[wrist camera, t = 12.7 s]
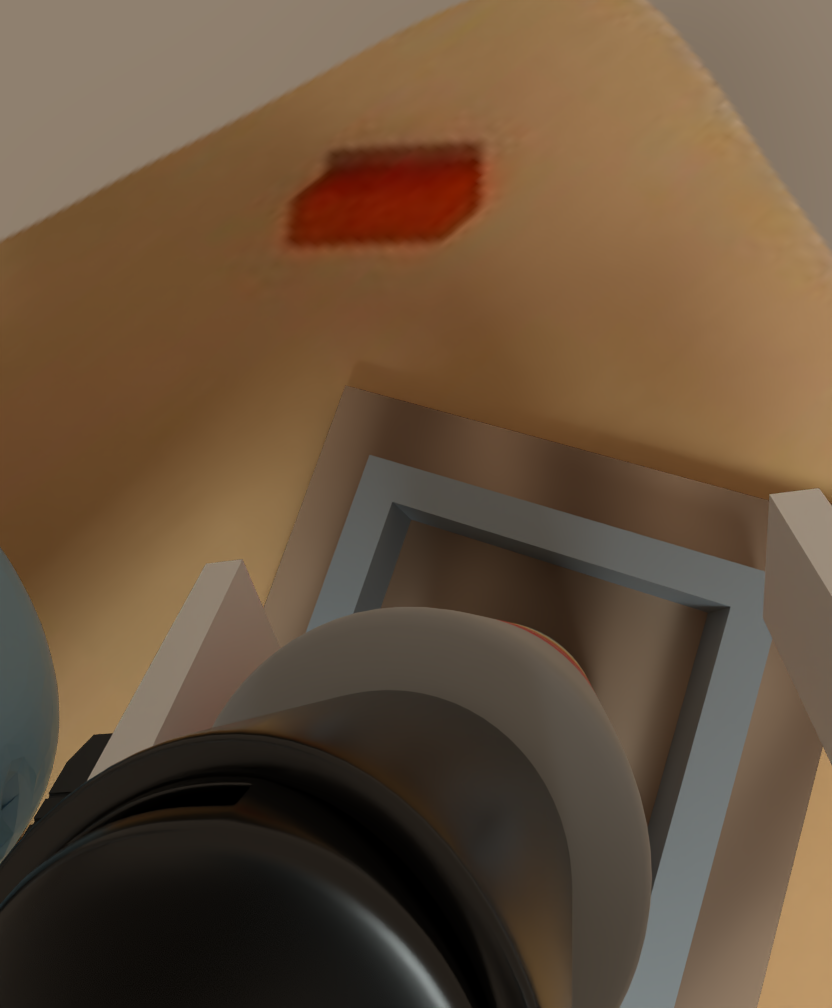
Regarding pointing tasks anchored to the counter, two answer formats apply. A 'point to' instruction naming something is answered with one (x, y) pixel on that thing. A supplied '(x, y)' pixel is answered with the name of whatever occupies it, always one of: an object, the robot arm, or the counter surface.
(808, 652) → the robot arm
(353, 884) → the lotion bottle
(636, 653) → the stand board
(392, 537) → the bottle collar
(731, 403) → the counter surface
